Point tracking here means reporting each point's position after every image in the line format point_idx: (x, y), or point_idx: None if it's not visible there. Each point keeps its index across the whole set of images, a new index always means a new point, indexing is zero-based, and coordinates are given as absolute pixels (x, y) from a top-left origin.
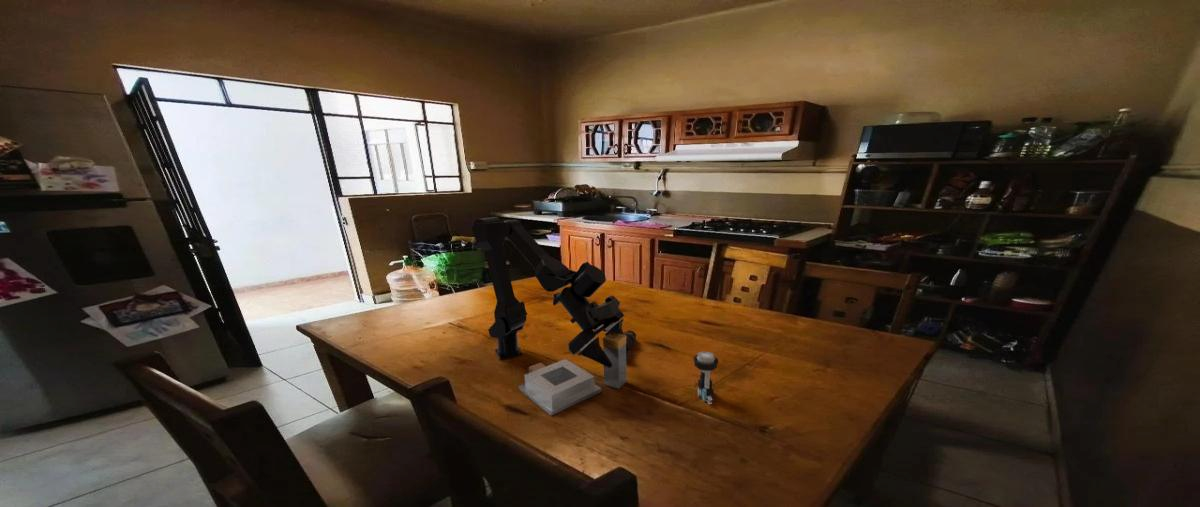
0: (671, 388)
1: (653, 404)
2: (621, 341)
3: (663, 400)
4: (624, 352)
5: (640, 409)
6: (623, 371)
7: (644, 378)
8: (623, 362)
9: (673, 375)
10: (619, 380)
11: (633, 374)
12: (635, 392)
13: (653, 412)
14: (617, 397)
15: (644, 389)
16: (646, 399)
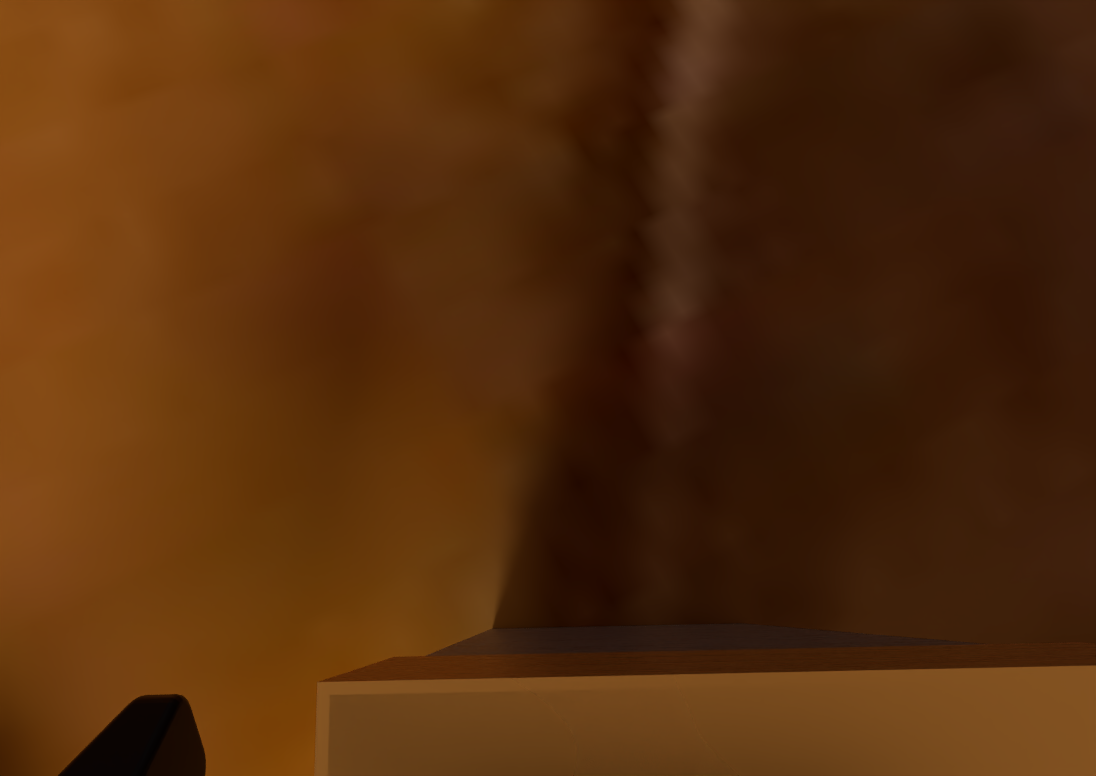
0: (383, 22)
1: (822, 78)
2: (894, 662)
3: (682, 12)
4: (552, 646)
5: (999, 166)
6: (599, 632)
7: (300, 422)
8: (604, 638)
9: (51, 106)
10: (750, 626)
11: (260, 622)
12: (701, 376)
13: (963, 22)
14: (941, 536)
15: (572, 302)
16: (772, 188)
